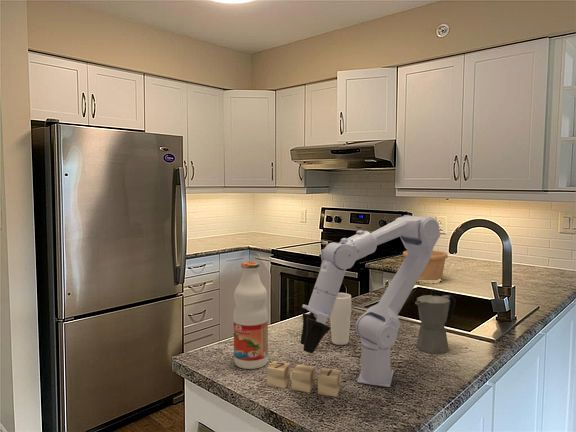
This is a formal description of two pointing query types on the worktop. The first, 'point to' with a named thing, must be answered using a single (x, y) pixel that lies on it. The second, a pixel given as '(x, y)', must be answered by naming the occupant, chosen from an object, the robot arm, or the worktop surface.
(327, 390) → the block one
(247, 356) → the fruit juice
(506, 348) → the worktop surface
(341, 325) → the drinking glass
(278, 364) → the block seven
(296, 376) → the plain block
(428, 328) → the coffeepot
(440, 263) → the pottery
